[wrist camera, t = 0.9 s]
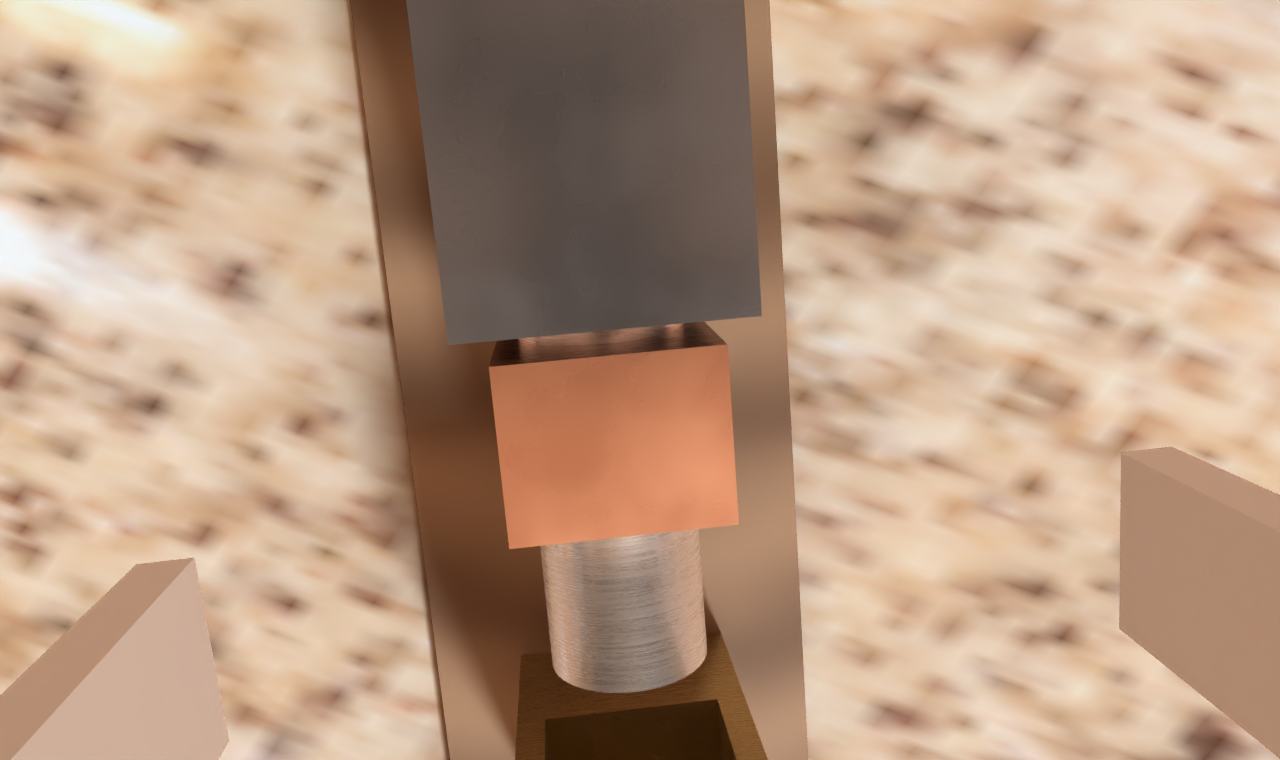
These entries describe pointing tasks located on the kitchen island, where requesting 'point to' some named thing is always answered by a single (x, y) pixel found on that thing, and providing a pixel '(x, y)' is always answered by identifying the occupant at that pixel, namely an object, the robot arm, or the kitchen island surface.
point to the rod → (618, 490)
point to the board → (469, 460)
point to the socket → (637, 716)
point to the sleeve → (587, 163)
